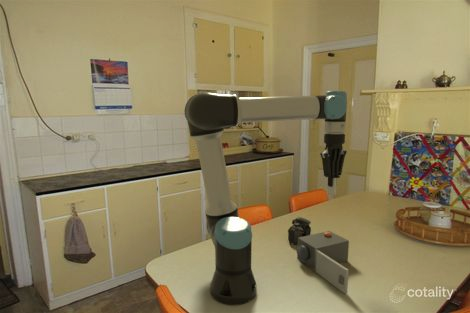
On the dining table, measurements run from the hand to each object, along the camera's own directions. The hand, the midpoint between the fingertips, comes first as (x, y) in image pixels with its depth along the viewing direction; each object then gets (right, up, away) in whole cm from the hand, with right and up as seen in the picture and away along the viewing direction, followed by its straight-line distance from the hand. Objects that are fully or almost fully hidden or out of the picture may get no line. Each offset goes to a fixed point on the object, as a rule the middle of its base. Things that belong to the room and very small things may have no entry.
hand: (331, 194), depth 124 cm
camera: (-8, -23, +23) cm, 34 cm away
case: (-3, -26, +3) cm, 27 cm away
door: (-5, -28, -13) cm, 32 cm away
